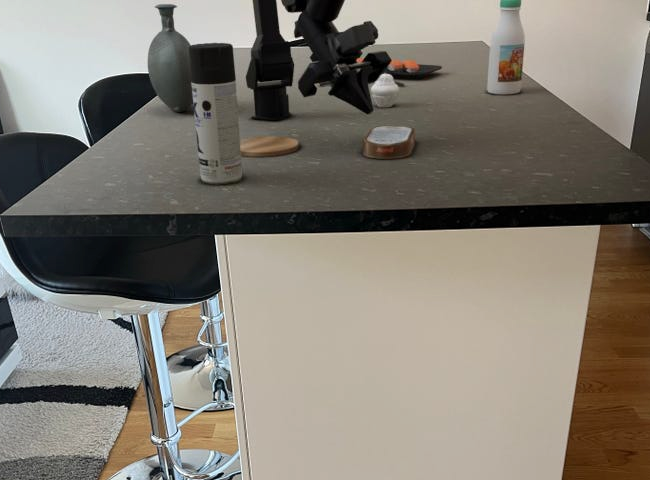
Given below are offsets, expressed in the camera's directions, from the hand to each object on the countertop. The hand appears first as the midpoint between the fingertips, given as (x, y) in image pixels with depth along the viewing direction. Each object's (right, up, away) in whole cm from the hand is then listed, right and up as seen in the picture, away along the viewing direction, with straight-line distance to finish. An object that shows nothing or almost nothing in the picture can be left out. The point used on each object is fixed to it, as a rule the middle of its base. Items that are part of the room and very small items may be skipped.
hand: (370, 112), depth 133 cm
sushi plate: (+5, +32, +71) cm, 78 cm away
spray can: (-24, -14, -10) cm, 30 cm away
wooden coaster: (-19, -4, +7) cm, 21 cm away
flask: (-41, +13, +41) cm, 59 cm away
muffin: (+6, +13, +38) cm, 41 cm away
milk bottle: (+34, +20, +48) cm, 63 cm away
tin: (-1, -3, +4) cm, 5 cm away
